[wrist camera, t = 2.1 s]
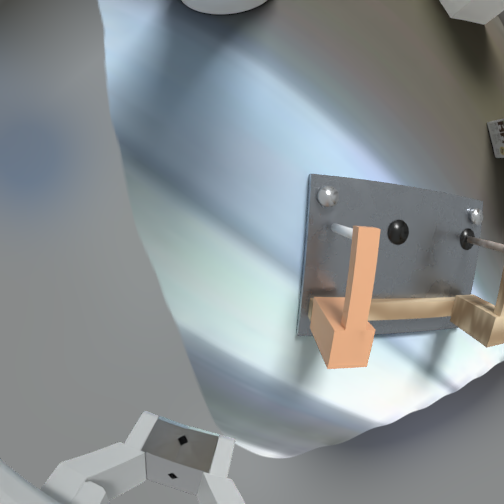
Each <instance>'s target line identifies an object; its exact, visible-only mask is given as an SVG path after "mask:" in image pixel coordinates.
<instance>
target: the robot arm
mask: <svg viewBox="0 0 504 504" xmlns="http://www.w3.org/2000/svg"><path fill="white" fill-rule="evenodd" d="M181 1H182V2H183V3H184V4H185V5H187V6H188V7H190V8H191V9H194V10H196V11H199V12H203V13H209V14H232V13H239V12H243V11H247V10H250V9H253V8H255V7H257V6H259V5H261V4H263V3H264V2H266V1H267V0H181ZM218 437H219V438H218ZM234 445H235V438H231V437H227V436H223V435H219V434H216V433H213V432H209V431H205V430H201V429H198V428H194V427H191V426H186V425H183V424H180V423H178V422H175V421H172V420H169V419H167V418H164V417H161V416H159V415H156V414H154V413H151V412H149V411H144V412H143V413H142V414H141V416H140V418H139V419H138V421H137V423H136V424H135V426H134V428H133V429H132V431H131V432H130V434H129V436H128V437H127V439H126V441H125V442H124V443H122V442H118V443H115V444H113V445H110V446H107V447H105V448H102V449H99V450H96V451H94V452H91V453H88V454H85V455H82V456H79V457H76V458H73V459H70V460H67V461H63V462H61V463H60V464H59V465H58V467H57V468H56V469H55V470H54V472H53V473H52V474H51V476H50V477H49V478H48V480H47V481H46V483H45V484H44V485H43V486H42V488H41V489H38V488H37V487H35V486H34V485H33V484H31V483H30V482H29V481H27V480H26V479H25V478H23V477H22V476H21V475H20V474H18V473H17V472H16V471H14V470H13V469H12V468H11V467H10V466H9V465H7V464H6V463H5V462H4V461H3V460H2V459H1V458H0V504H110V502H109V501H110V500H112V499H114V498H115V497H117V496H119V495H121V494H123V493H125V492H127V491H128V490H130V489H132V488H134V487H136V486H137V485H139V484H141V483H143V482H144V481H146V479H148V480H151V481H153V482H156V483H159V484H162V485H165V486H169V487H172V488H174V489H177V490H180V491H183V492H186V493H190V494H193V495H196V496H197V499H198V502H199V504H246V503H245V502H244V500H243V498H242V496H241V494H240V493H239V491H238V489H237V487H236V485H235V483H234V482H233V480H232V479H230V478H228V473H229V468H230V464H231V459H232V454H233V450H234Z"/></svg>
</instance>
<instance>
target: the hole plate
mask: <svg viewBox="0 0 504 504" xmlns="http://www.w3.org/2000/svg"><path fill="white" fill-rule="evenodd" d="M482 209H483V201H479V200H475V199H471V198H466V197H462V196H457V195H452V194H447V193H442V192H437V191H432V190H427V189H421V188H415V187H410V186H404V185H397V184H391V183H384V182H377V181H370V180H363V179H355V178H346V177H338V176H328V175H318V174H310V175H309V190H308V208H307V223H306V237H305V250H304V262H303V273H302V284H301V294H300V304H299V313H298V322H297V331H296V332H297V335H298V336H313V334H312V332H311V329H310V324H311V321H310V319H309V317H308V311H309V302H310V298H314V297H345V294H346V287H347V279H348V271H349V263H350V253H351V244H352V239H350V238H347V237H345V236H342V235H340V234H338V233H335V232H333V231H332V230H331V225H332V224H334V223H336V224H339V225H343V226H346V227H349V228H352V229H353V226H366V227H375V228H379V229H380V239H379V248H378V257H377V265H376V272H375V279H374V286H373V292H372V298H371V299H393V298H441V297H456V295H471V290H472V285H473V280H474V275H475V269H476V263H477V257H478V249H479V246H478V245H474V244H471V243H468V242H467V237H468V236H471V237H475V238H479V239H480V233H481V222H482V220H483V213H482ZM450 318H451V316H446V317H433V318H417V319H398V320H370V321H368V322H369V323H370V324H371V325H372V326H373V327H374V329H375V334H390V333H405V332H418V331H429V330H440V329H449V328H458V327H457V326H456V325H455V324H453V323H452V322H450Z"/></svg>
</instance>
